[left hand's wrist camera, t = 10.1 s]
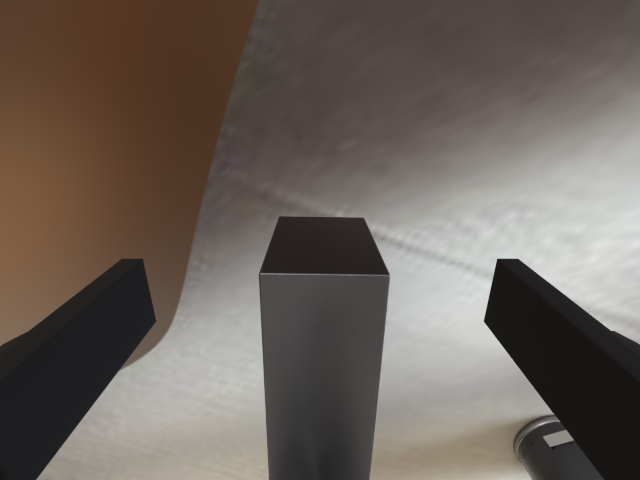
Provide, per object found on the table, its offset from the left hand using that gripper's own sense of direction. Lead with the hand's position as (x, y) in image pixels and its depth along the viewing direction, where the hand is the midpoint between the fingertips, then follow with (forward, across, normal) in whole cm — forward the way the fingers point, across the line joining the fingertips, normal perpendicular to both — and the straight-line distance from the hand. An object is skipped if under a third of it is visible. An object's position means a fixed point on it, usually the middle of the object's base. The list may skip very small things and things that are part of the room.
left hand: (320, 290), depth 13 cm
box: (+10, 0, -14) cm, 17 cm away
